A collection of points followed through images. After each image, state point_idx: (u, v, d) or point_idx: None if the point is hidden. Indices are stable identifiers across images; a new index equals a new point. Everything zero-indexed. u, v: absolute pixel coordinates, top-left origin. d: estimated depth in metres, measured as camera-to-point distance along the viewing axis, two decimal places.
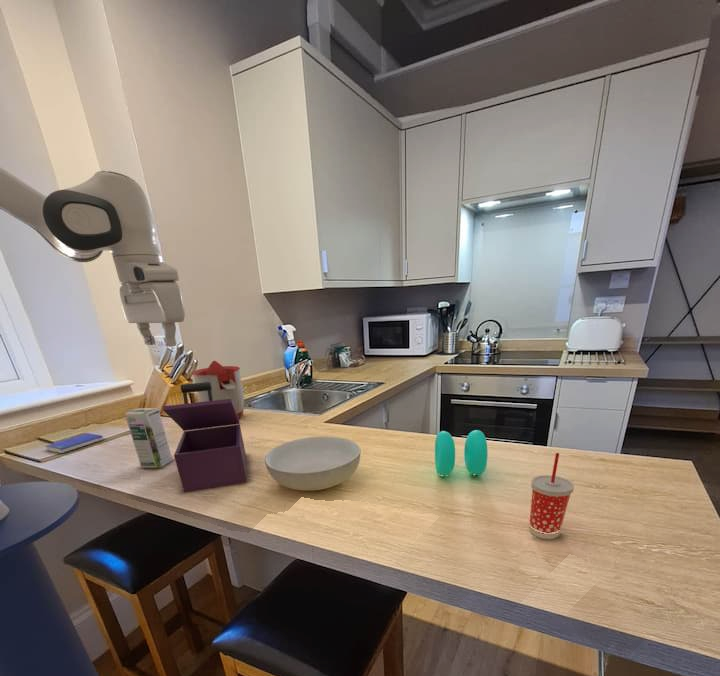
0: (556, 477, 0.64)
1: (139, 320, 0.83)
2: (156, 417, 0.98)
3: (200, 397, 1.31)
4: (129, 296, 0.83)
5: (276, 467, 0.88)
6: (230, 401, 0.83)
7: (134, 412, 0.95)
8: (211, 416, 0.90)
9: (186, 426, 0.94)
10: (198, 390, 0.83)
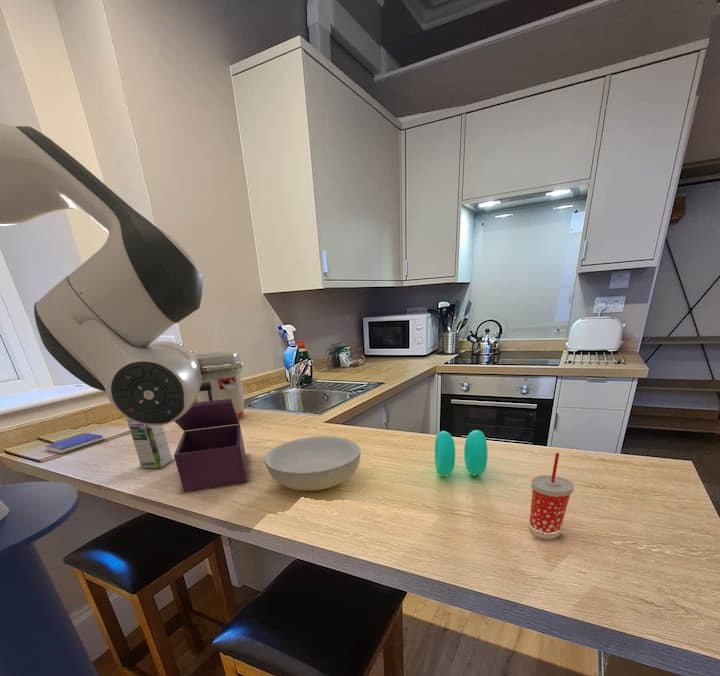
0: (556, 477, 0.64)
1: None
2: None
3: (200, 397, 1.31)
4: None
5: (276, 467, 0.88)
6: (230, 401, 0.83)
7: None
8: (211, 416, 0.90)
9: (186, 426, 0.94)
10: None
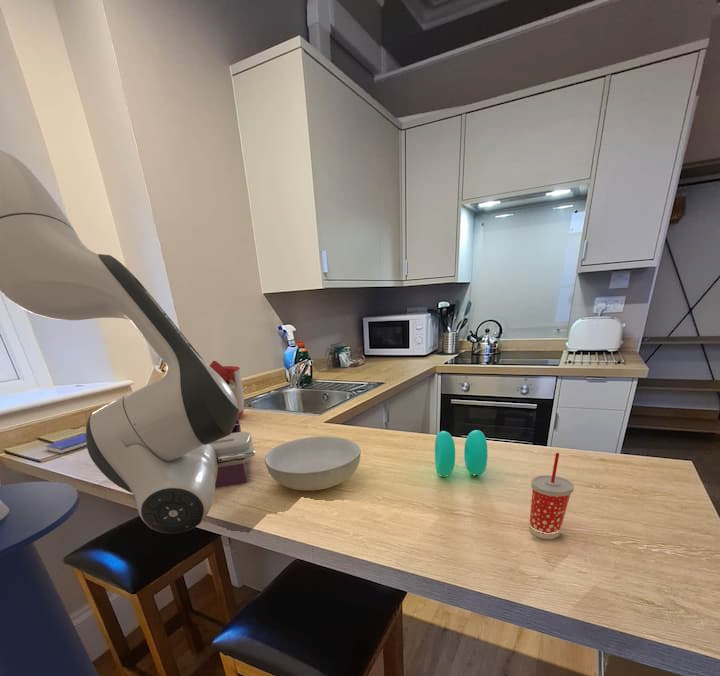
0: (556, 477, 0.64)
1: None
2: None
3: None
4: None
5: (276, 467, 0.88)
6: None
7: None
8: None
9: None
10: None
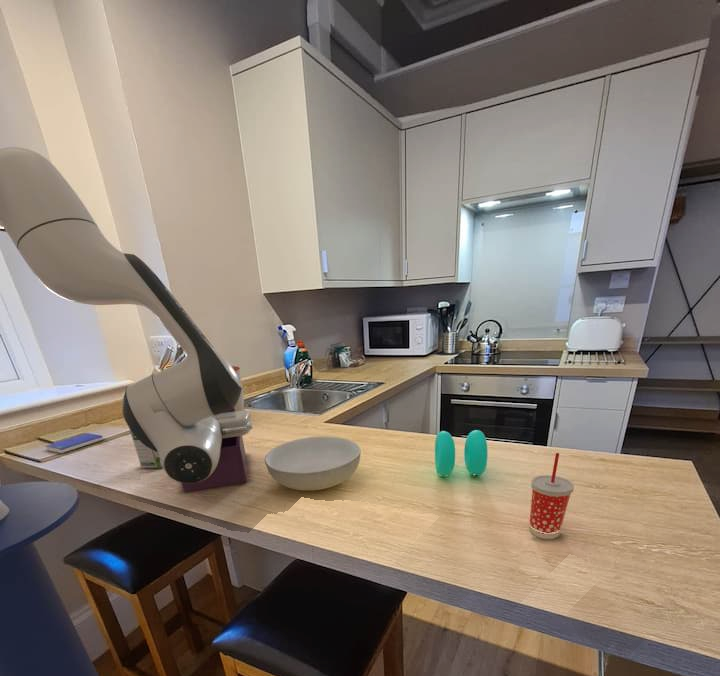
0: (556, 477, 0.64)
1: None
2: None
3: None
4: None
5: (276, 467, 0.88)
6: None
7: None
8: None
9: None
10: None
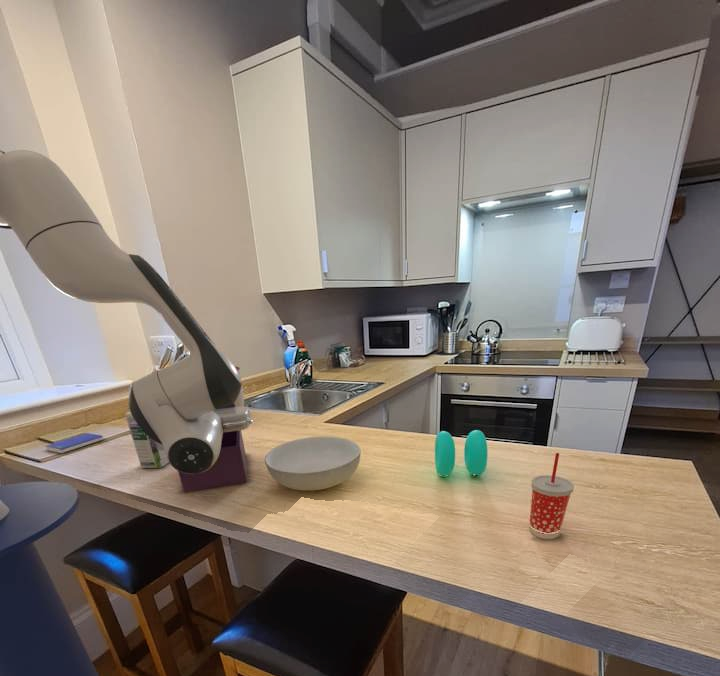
0: (556, 477, 0.64)
1: (215, 409, 0.86)
2: None
3: None
4: None
5: (276, 467, 0.88)
6: None
7: None
8: None
9: None
10: None
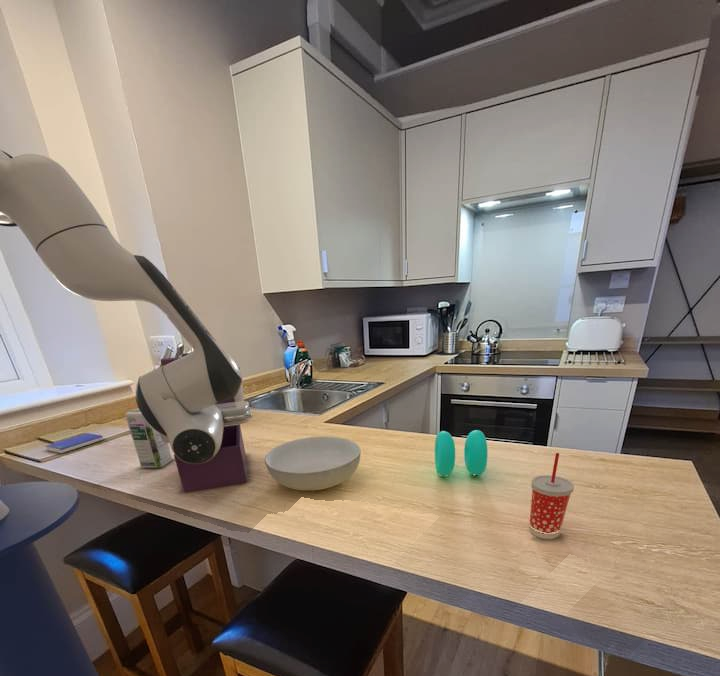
0: (556, 477, 0.64)
1: (216, 404, 0.90)
2: None
3: None
4: None
5: (276, 467, 0.88)
6: None
7: (134, 412, 0.95)
8: None
9: None
10: None
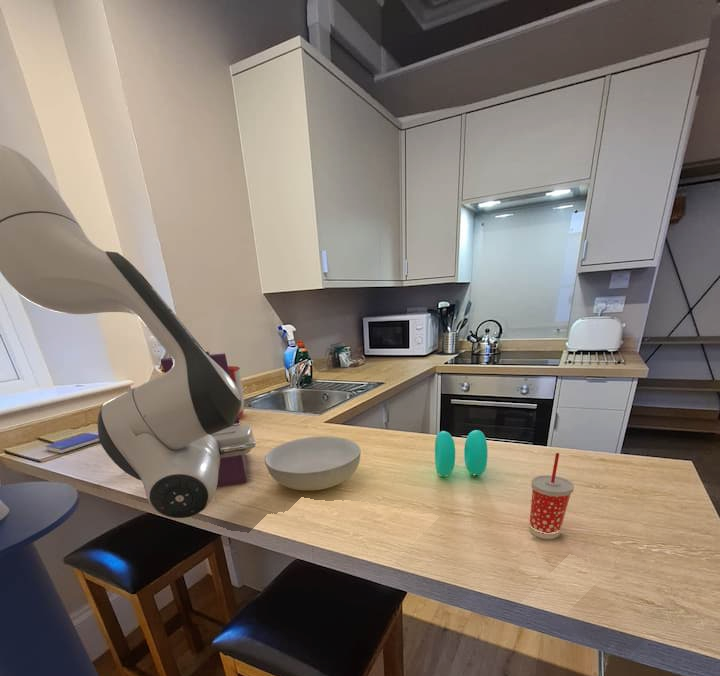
0: (556, 477, 0.64)
1: None
2: None
3: None
4: None
5: (276, 467, 0.88)
6: (224, 354, 0.88)
7: None
8: None
9: None
10: None
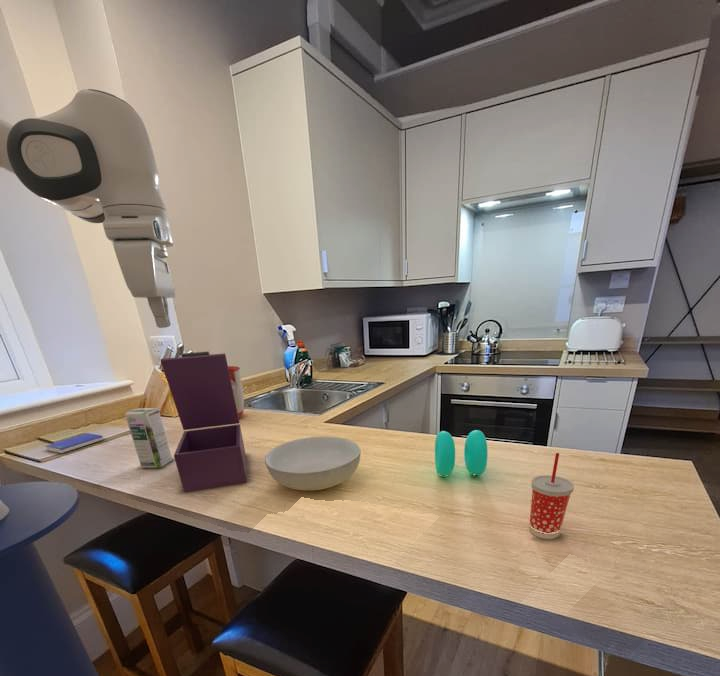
0: (556, 477, 0.64)
1: None
2: (156, 417, 0.98)
3: None
4: None
5: (276, 467, 0.88)
6: (224, 354, 0.88)
7: (134, 412, 0.95)
8: (208, 390, 0.93)
9: (185, 416, 0.95)
10: None
